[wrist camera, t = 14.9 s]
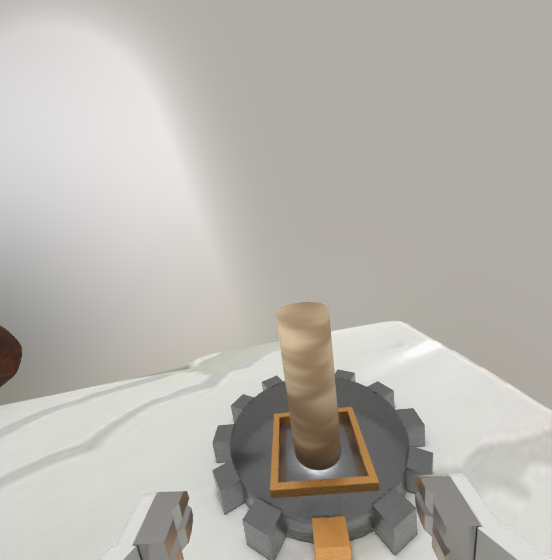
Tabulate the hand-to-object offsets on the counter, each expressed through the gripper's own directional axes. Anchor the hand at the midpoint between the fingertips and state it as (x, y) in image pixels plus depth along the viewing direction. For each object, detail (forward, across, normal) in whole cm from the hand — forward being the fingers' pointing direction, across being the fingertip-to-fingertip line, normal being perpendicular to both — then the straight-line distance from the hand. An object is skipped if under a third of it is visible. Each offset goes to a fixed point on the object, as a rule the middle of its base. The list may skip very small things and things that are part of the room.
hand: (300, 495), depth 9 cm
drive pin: (+14, -1, +12) cm, 18 cm away
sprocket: (+17, -2, +15) cm, 22 cm away
